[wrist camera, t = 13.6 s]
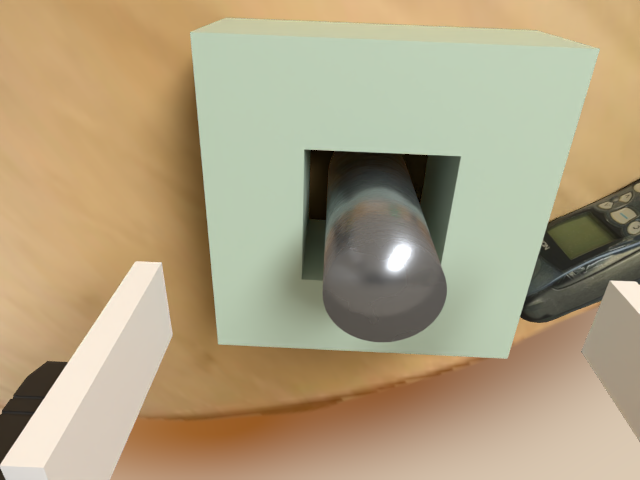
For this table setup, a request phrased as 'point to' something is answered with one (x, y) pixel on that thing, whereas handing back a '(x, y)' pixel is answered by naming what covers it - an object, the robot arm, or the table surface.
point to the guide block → (381, 137)
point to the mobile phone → (585, 256)
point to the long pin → (378, 250)
